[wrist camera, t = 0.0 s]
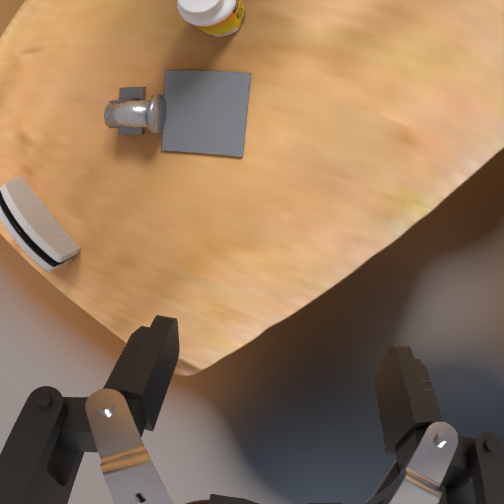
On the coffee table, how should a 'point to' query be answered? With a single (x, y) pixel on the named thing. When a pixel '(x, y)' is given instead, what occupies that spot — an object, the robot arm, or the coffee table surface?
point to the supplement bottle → (213, 15)
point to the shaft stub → (136, 112)
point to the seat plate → (206, 111)
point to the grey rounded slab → (34, 226)
